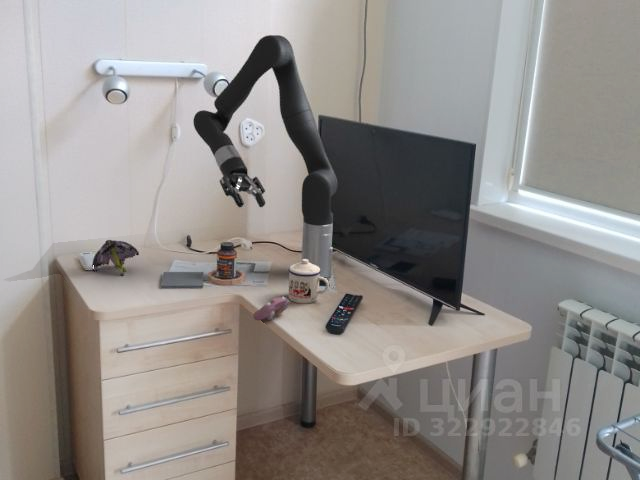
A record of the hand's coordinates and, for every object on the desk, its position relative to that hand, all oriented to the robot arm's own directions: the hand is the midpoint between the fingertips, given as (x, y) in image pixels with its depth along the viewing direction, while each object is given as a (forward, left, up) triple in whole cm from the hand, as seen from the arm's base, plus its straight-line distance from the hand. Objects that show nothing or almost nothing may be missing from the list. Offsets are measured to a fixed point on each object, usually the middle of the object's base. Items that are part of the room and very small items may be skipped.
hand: (252, 205), depth 204 cm
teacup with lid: (-16, +18, -23) cm, 33 cm away
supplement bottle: (+7, +1, -23) cm, 24 cm away
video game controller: (-4, +31, -23) cm, 39 cm away
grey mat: (+20, +3, -23) cm, 31 cm away
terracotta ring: (+7, +1, -23) cm, 24 cm away
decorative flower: (+41, -5, -23) cm, 48 cm away
